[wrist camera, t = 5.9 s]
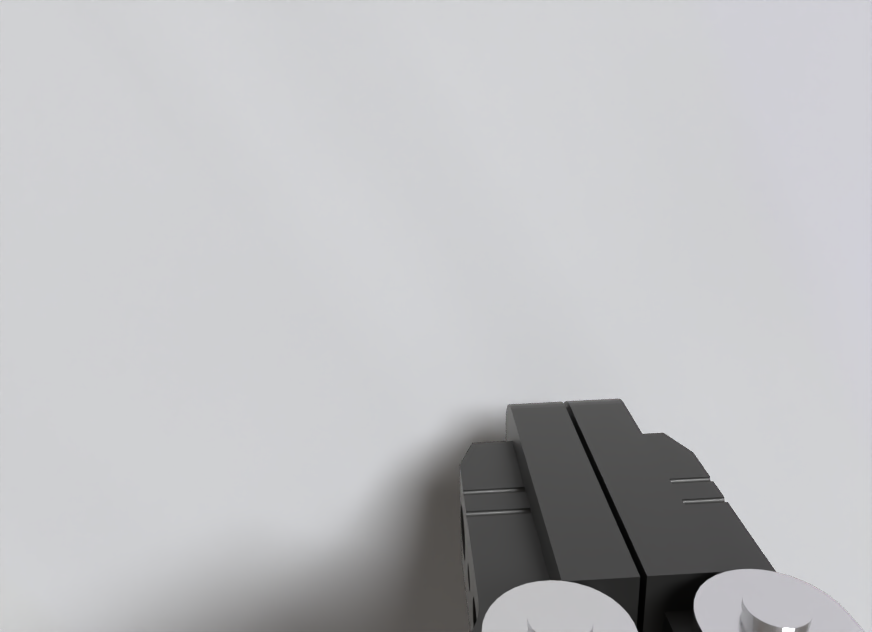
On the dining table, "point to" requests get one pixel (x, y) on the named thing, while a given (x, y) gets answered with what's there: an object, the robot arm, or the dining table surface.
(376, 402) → the dining table surface
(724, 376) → the dining table surface
